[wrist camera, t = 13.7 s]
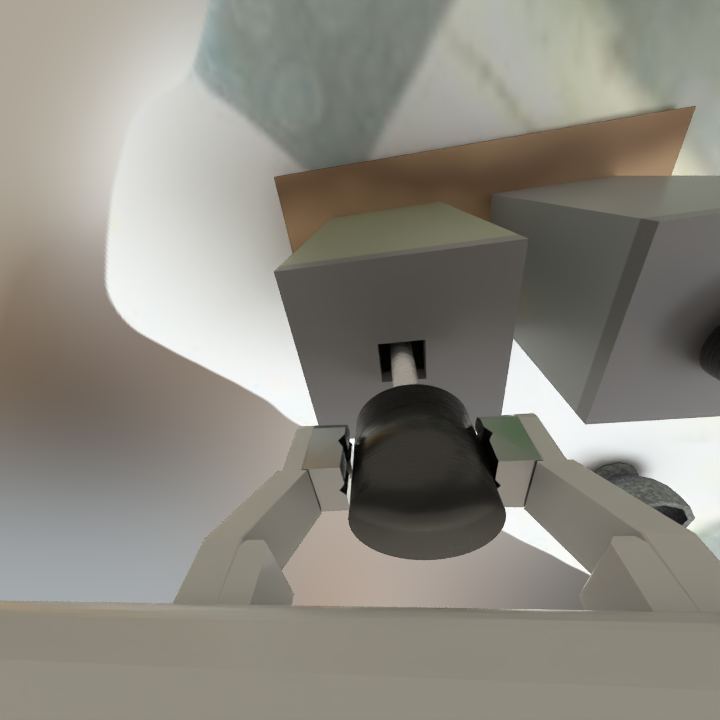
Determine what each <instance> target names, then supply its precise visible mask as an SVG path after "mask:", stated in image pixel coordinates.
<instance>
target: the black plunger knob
mask: <svg viewBox="0 0 720 720" xmlns="http://www.w3.org/2000/svg"><path fill="white" fill-rule="evenodd" d="M390 354H391V367H392V380H393V388H390V389H387V390H385V391H383V392H381V393H379V394H377V395H376V396H374V397H373V398H371V399H370V400H369V401H368V402H367V403H366V404H365V405H364V406H363V408H362V409H361V411H360V413H359V415H358V418H357V421H356V432H355V444H354V456H353V469H352V481H351V493H350V505H349V518H348V520H349V525H350V528H351V530H352V532H353V533H354V535H355V536H356V537H357V538H358V539H359V540H360V541H361V542H363V543H364V544H365V545H367V546H368V547H370V548H372V549H374V550H376V551H378V552H381V553H384V554H387V555H390V556H394V557H399V558H404V559H413V560H436V559H445V558H451V557H456V556H460V555H463V554H466V553H470V552H472V551H474V550H477V549H479V548H481V547H483V546H484V545H486V544H487V543H489V542H490V541H492V540H493V539H494V538H495V537H496V536H497V535H498V534H499V533H500V531H501V530H502V528H503V526H504V523H505V519H506V512H505V508H504V505H503V503H502V500H501V497H500V495H499V492H498V489H497V487H496V484H495V482H494V479H493V476H492V474H491V471H490V469H489V466H488V463H487V461H486V458H485V456H484V453H483V450H482V448H481V445H480V443H479V440H478V437H477V435H476V432H475V430H474V427H473V424H472V422H471V419H470V417H469V414H468V411H467V409H466V408H465V406H464V404H463V403H462V402H461V401H460V400H459V399H458V398H457V397H456V396H454V395H453V394H451V393H450V392H448V391H446V390H443V389H441V388H438V387H435V386H430V385H423V384H419V381H418V376H417V371H416V366H415V362H414V357H413V352H412V347H411V342H410V341H406V342H396V343H390Z"/></svg>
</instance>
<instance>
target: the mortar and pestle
mask: <svg viewBox="0 0 720 720" xmlns="http://www.w3.org/2000/svg"><path fill="white" fill-rule="evenodd" d="M594 473H596V474H598V475H599V476H601V477H602V478H604V479H606V480H607V481H609V482H611V483H612V484H614V485H616V486H617V487H619V488H621V489H622V490H624V491H626V492H627V493H629V494H631V495H632V496H634V497H635V498H637V499H639V500H640V501H642V502H644V503H645V504H647V505H649V506H650V507H652V508H654V509H655V510H657V511H659V512H660V513H662V514H664V515H665V516H667V517H668V518H670V519H672V520H673V521H675V522H677V523H678V524H680V525H682V526H683V527H685V528H686V527H687V526H688V525H689V524H690V523H691V522H692V521H693V520H694V519H695V517H694V515H693V513H692V510H691V508H690V506H689V505H688V504H687V503H686V502H685V501H684V500H683V499H682V498H681V497H680V496H679V495H678V494H677V493H676V492H674V491H673V490H672V489H671V488H669V487H668V486H667V485H665V484H662V483H660V482H658V481H656V480H654V479H650V478H646V477H641V476H639V475H638V473H637V472H636V470H635V469H634V467H633V466H631V465H627V464H623V463H616V464H611V465H605V466H603V467H601V468H599V469H598V470H596V471H594Z"/></svg>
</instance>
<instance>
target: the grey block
mask: <svg viewBox="0 0 720 720" xmlns="http://www.w3.org/2000/svg"><path fill="white" fill-rule="evenodd" d="M489 222H490V223H493V224H495V225H497V226H500V227H502V228H505V229H507V230H509V231H512V232H514V233H516V234H519V235H521V236H524V237H526V238H528V246H527V252H526V259H525V265H524V272H523V278H522V284H521V291H520V297H519V304H518V310H517V317H516V323H515V329H514V336H513V338H514V340H515V341H516V342H517V343H518V344H519V346H520V347H521V348H522V349H523V350H524V352H525V353H526V354H527V355H528V356H529V358H530V359H531V360H532V361H533V362H534V364H535V365H536V366H537V367H538V368H539V370H540V371H541V372H542V373H543V374H544V376H545V377H546V378H547V379H548V380H549V381H550V383H551V384H552V385H553V386H554V387H555V389H556V390H557V391H558V392H559V393H560V395H561V396H562V397H563V398H564V399H565V401H566V402H567V403H568V404H569V405H570V407H571V408H572V409H573V410H574V411H575V413H576V414H577V415H578V416H579V417H580V419H581V420H582V421H583V422H584V423H585V424H598V423H615V422H631V421H648V420H664V419H681V418H697V417H714V416H720V381H719V380H717V379H715V378H714V377H712V376H710V375H709V374H707V373H706V372H705V371H704V370H703V369H702V368H701V365H700V361H699V357H700V352H701V349H702V346H703V344H704V343H705V341H706V339H707V338H708V337H709V335H710V334H711V333H712V332H713V331H714V330H715V328H716V327H717V326H718V324H719V323H720V176H609V177H603V178H596V179H589V180H582V181H576V182H569V183H562V184H556V185H549V186H542V187H535V188H529V189H522V190H515V191H508V192H502V193H495V194H492V198H491V209H490V221H489Z"/></svg>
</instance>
